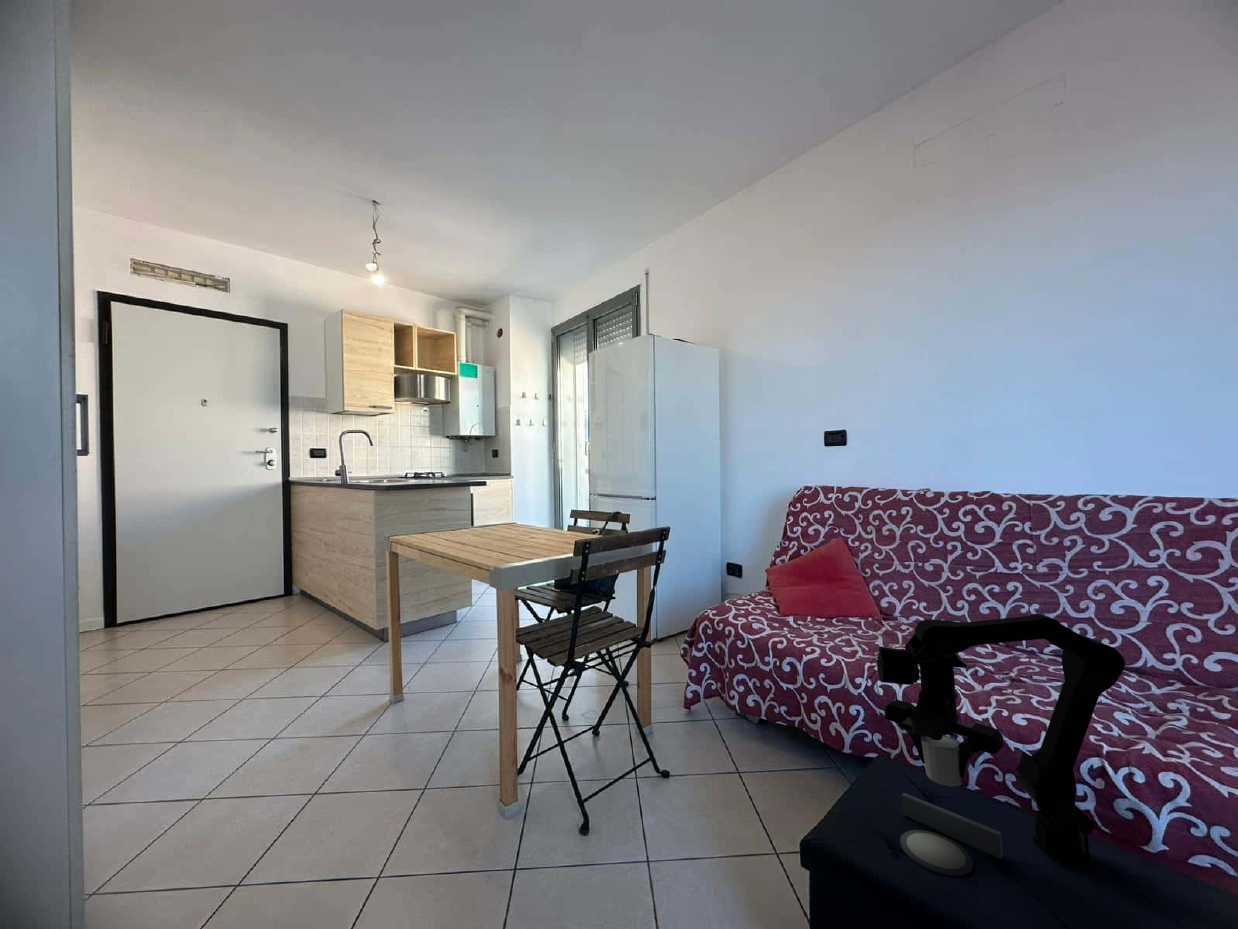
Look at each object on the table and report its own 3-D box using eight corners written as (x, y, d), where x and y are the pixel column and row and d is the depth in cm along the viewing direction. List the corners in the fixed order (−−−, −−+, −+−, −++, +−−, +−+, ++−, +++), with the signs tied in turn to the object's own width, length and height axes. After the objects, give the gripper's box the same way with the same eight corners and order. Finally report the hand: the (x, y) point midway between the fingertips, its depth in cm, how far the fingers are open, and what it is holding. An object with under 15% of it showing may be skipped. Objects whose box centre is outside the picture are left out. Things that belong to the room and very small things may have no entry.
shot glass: (923, 782, 91) (921, 744, 91) (921, 765, 97) (919, 729, 97) (967, 792, 87) (965, 753, 88) (962, 774, 93) (960, 737, 94)
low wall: (902, 815, 96) (901, 795, 97) (905, 813, 97) (903, 792, 98) (1001, 859, 84) (999, 835, 85) (1003, 856, 85) (1001, 832, 85)
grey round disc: (949, 833, 91) (948, 831, 91) (988, 878, 80) (988, 874, 80) (889, 831, 92) (889, 828, 92) (920, 874, 81) (920, 871, 81)
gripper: (870, 682, 96) (874, 763, 94) (982, 714, 81) (989, 810, 80) (894, 671, 103) (898, 746, 101) (1001, 698, 88) (1007, 786, 87)
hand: (943, 770), depth 92 cm, fingers closed on shot glass, 6 cm apart
